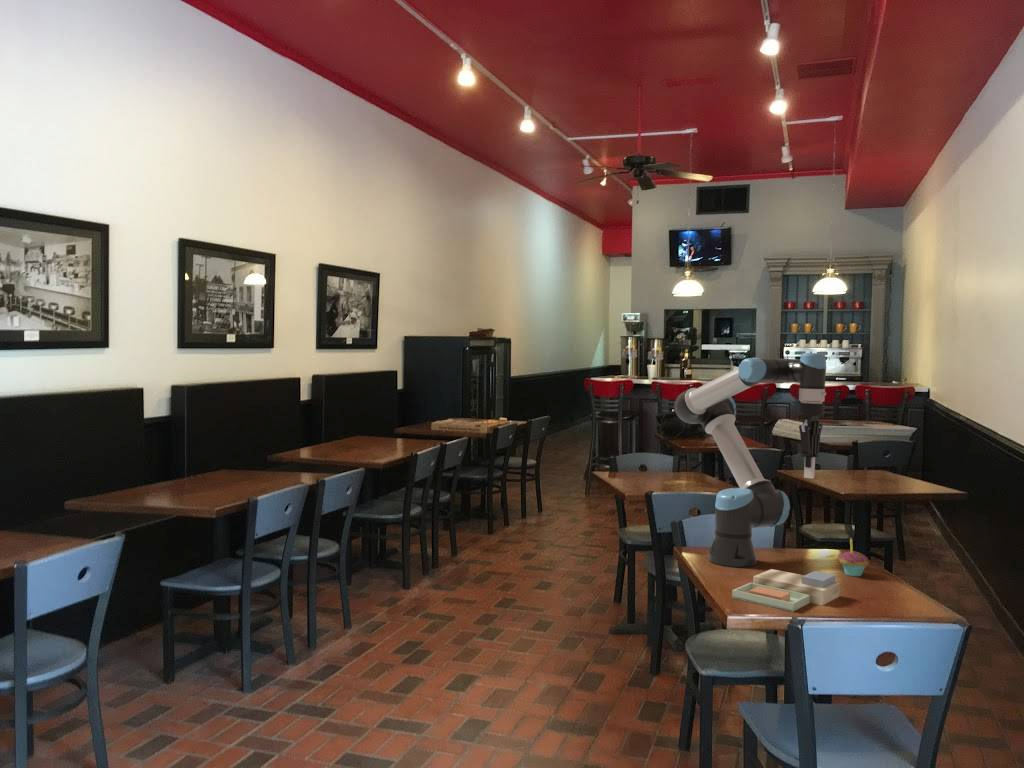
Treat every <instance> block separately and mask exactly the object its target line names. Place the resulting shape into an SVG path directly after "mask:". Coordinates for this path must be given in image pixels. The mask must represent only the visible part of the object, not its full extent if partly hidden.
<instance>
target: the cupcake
mask: <svg viewBox="0 0 1024 768" xmlns="http://www.w3.org/2000/svg"><path fill="white" fill-rule="evenodd" d="M849 544H850V545H849V546H850V549H849V550H850V551H845V552H843V553H841V554H840V555H839V556H838V558H839V560H838V561H839V563H840V564H841V565H842V567H843V570H844V574H845V575H846V576H850V577H861V576H862V575H863V572H864V570H865V568H867V566H869V558H868V557H867V556H866V555H864V554H863V553H862V552H861V553H860V552H859V551H857V550H856V551H853V549H854V546H853V539H852V538H850V539H849Z"/></svg>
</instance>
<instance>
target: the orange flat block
mask: <svg viewBox="0 0 1024 768" xmlns="http://www.w3.org/2000/svg"><path fill="white" fill-rule="evenodd" d="M749 593H750V594H755V595H759V596H764V597H768V598H773V599H778V600H782V601H787V602H788V601H790V593H788V592H783V591H779V590H774V589H769V588H764V587H760V586H759V587H756V588H754V589H752V590H750V591H749Z"/></svg>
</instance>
